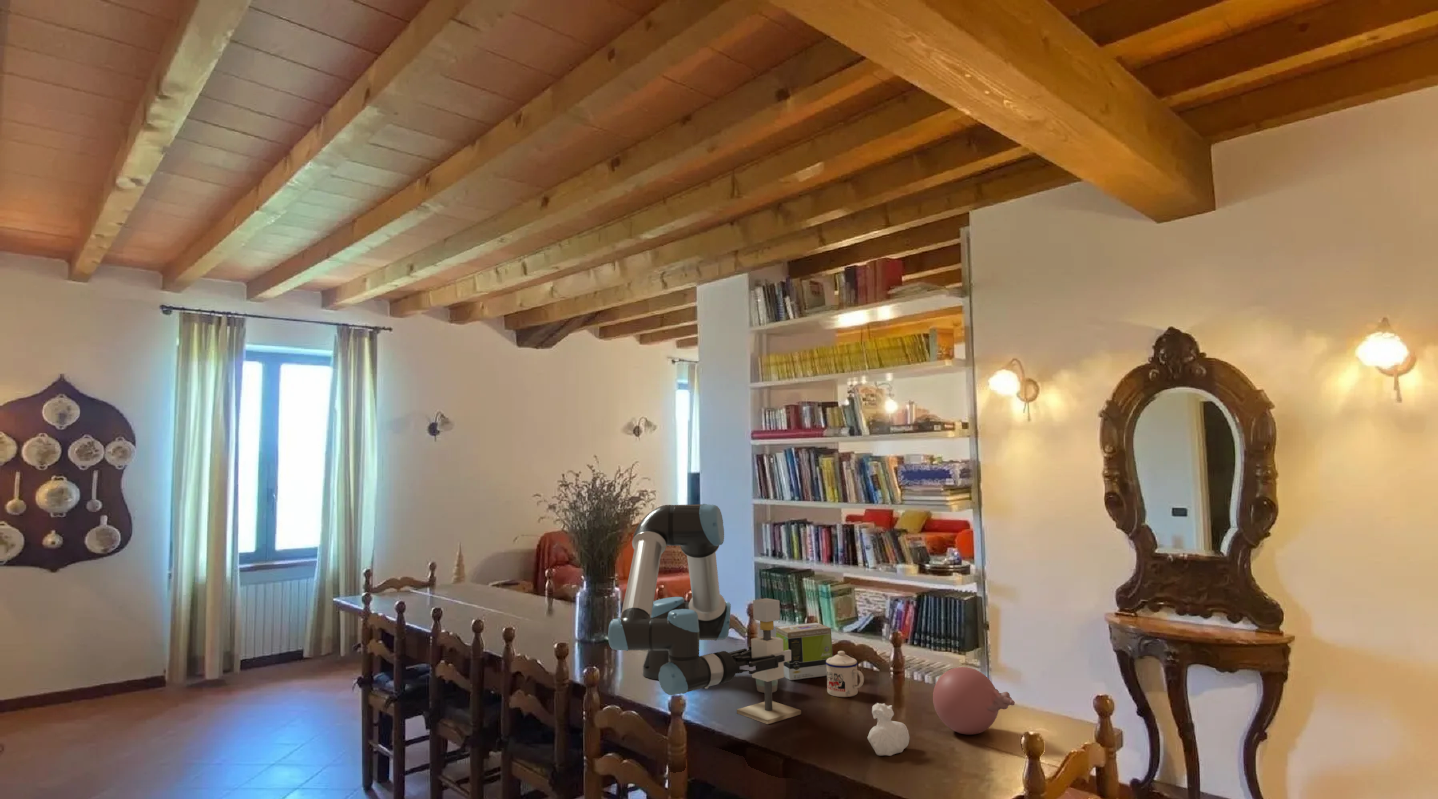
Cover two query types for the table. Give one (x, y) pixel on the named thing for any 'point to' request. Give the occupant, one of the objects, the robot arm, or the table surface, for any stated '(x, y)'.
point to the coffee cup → (761, 685)
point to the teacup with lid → (843, 675)
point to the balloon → (968, 700)
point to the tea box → (806, 649)
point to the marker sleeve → (766, 649)
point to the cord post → (766, 632)
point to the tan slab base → (768, 712)
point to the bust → (887, 732)
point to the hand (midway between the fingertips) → (781, 652)
